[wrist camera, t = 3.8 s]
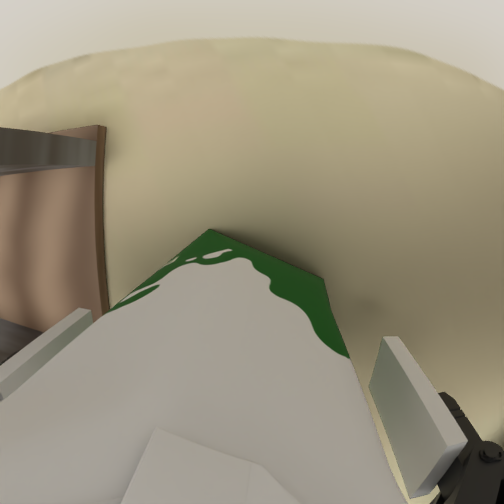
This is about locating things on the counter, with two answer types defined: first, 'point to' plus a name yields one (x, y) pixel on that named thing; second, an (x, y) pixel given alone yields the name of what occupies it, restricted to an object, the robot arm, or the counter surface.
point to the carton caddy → (50, 230)
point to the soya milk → (200, 397)
